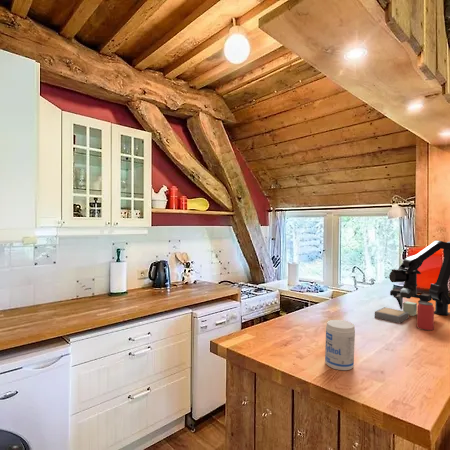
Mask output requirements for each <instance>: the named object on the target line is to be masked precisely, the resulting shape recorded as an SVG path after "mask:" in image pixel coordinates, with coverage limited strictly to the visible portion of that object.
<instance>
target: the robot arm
mask: <svg viewBox="0 0 450 450" xmlns="http://www.w3.org/2000/svg"><path fill="white" fill-rule="evenodd" d="M440 250H442V251H443V255H444V257H443V260H442V264H441V266H440V270H439V274H438V276H437V279H436V281H435V283H430V285H429V286H430V287H429V289H428V293H421V294H418V290H417V287H418V283H417V282H418V280H417V279H418V277H417V276H418V275H421V274H422V272H421V271H420V270H419V269H420V267H421V266H422V265H423V263H424V261H426V260H427V259H428V258H430V257H431V256H433V255H435V254H436V253H437V252H438V251H440ZM388 277H389V278H388V279H389V280H390V282H391V283H403V287H402V288H401V289H395V288H394V289H391V290H390V292H389V295H390V296H391V297H393V298H395V300H396V301H397V304H398V306H399V310H400V311H403V303H404V301H403V300H404V299H411V298H415V299H419V300H418V301H417V302H418V303H417V304H419V302H421V301H424V302H430V301H435V304H434V306H435V307H434V315H436V314H437V315H441V316H445V317H446V316H449V315H450V312H449V305H450V296H449V291H450V290H449V287H448V283H449V280H450V241H442V240H437V239H436V240H434V241H433V242H432V243H430V244H429V245H428V246H426V247H425V248H423V249H422V250H420V251H419V252H418V253H416V254H414V255H409V256H407V257H405V258H404V259H403V260H402V263H401V265H400V266H399V268H398V269H393V268H392V269H391V271H390V273H389V276H388ZM403 298H404V299H403Z"/></svg>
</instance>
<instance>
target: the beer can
mask: <svg viewBox="0 0 450 450" xmlns="http://www.w3.org/2000/svg"><path fill="white" fill-rule="evenodd" d="M434 311H435V307H434V303H432V302H430V301H429V302H424V301H421V302H419V303H417V314H416V316H417V317H416V327H417V328H418V329H420V330H423V331H434V329H435V327H434V326H435V323H434V322H435V313H434Z"/></svg>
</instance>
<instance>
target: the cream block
mask: <svg viewBox="0 0 450 450" xmlns="http://www.w3.org/2000/svg"><path fill="white" fill-rule="evenodd" d="M417 307H418V303H417V302H412V301H406V300H405V302H404V301H403V307H402V311H405V312H408V316H411V317H414V316H417Z"/></svg>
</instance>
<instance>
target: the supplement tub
mask: <svg viewBox="0 0 450 450" xmlns="http://www.w3.org/2000/svg"><path fill="white" fill-rule="evenodd" d="M325 326H326V327H325V346H324V347H325V351H324V354H325V355H324V359H325V360H324V361H325V362H324V363H325V365H327V366H328V367H329V368H331V369H334V370H339V371H348V370H352V369H353V368H354V366H355V365H354V364H355V337H356V329H355V325H354V323H352V322H350V321H348V320H343V319H342V320H341V319H331V320H328V321H327V322H326V325H325Z"/></svg>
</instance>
